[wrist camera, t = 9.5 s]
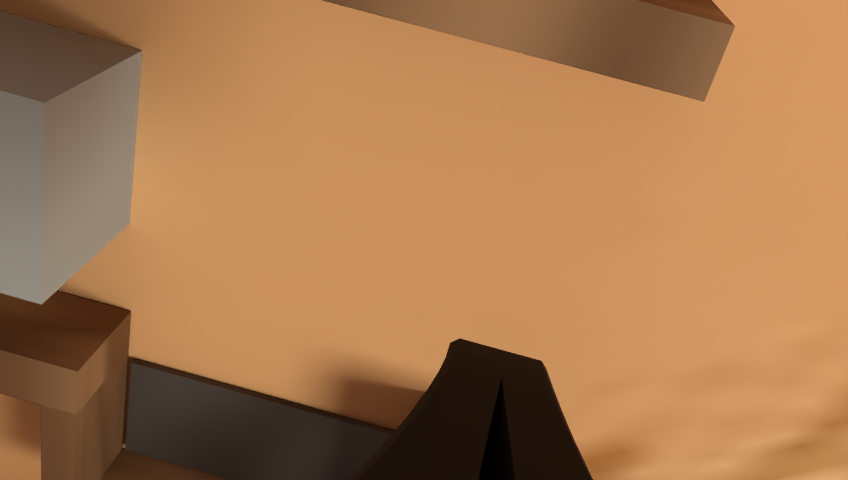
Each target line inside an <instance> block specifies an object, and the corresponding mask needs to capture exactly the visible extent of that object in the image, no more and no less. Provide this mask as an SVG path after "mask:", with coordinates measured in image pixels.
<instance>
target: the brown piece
mask: <svg viewBox="0 0 848 480" xmlns="http://www.w3.org/2000/svg"><path fill="white" fill-rule="evenodd" d="M323 1H327V2H331V3H334V4H338V5H342V6H346V7H349V8H353V9H357V10H361V11H364V12H368V13H372V14H376V15H379V16H383V17H387V18H391V19H395V20H398V21H402V22H406V23H410V24H413V25H417V26H421V27H425V28H428V29H432V30H436V31H440V32H444V33H447V34H451V35H455V36H459V37H462V38H466V39H470V40H474V41H477V42H481V43H485V44H489V45H492V46H496V47H500V48H504V49H508V50H511V51H515V52H519V53H523V54H526V55H530V56H534V57H538V58H541V59H545V60H549V61H553V62H556V63H560V64H564V65H568V66H572V67H575V68H579V69H583V70H587V71H590V72H594V73H598V74H602V75H605V76H609V77H613V78H617V79H620V80H624V81H628V82H632V83H636V84H639V85H643V86H647V87H651V88H654V89H658V90H662V91H666V92H669V93H673V94H677V95H681V96H684V97H688V98H692V99H696V100H700V101H703V102H704V101H705V98H706V96H707V93H708V91H709V88H710V86H711V84H712V81H713V79H714V76H715V74H716V71H717V69H718V66H719V64H720V62H721V59H722V57H723V54H724V52H725V49H726V47H727V44H728V42H729V40H730V37H731V35H732V32H733V30H734V27H735V26H734V24H733V23H732V22H731V21H730V20H729V19H728V18H727V17H726V16H725V15H724V13H723V12H722V11H721V10H720V9H719V8H718V7H717V6H716V5H715V4H714V2H713V1H712V0H323ZM130 317H131V311H128V310H124V309H120V308H117V307H113V306H110V305H106V304H102V303H99V302H95V301H91V300H88V299H84V298H81V297H77V296H73V295H70V294H66V293H63V292H59V291H56V292H55V293H54V294H53V295H52V296H50V297H49V298H48V299H47V300H46V301H45V302H44V303H43V304H42V305H41V304H37V303H34V302H31V301H27V300H24V299H20V298H17V297H13V296H10V295H6V294H3V293H0V394H4V395H8V396H11V397H15V398H18V399H22V400H25V401H29V402H32V403H36V404H40V405H41V480H349V479H350V478H351V477H352V476H353V475H354V474H355V473H356V472H357V471H358V470H359V469H360V468H361V467H362V466H363V465H364V464H365V463H366V462H367V461H368V460H369V459H370V458H371V457H372V456H373V455H374V454H375V453H376V452H377V451H378V450H379V449H380V448H381V447H382V445H383V444H384V443H385V442H386V441H387V440H388V439H389V437H390V436H391V435H392V434H393V433H394V432H395V431H392V430H389V429H385V428H382V427H378V426H374V425H371V424H367V423H364V422H360V421H356V420H353V419H349V418H346V417H342V416H338V415H335V414H331V413H328V412H324V411H320V410H317V409H313V408H310V407H306V406H302V405H299V404H295V403H292V402H288V401H284V400H281V399H277V398H274V397H270V396H267V395H263V394H259V393H256V392H252V391H249V390H245V389H241V388H238V387H234V386H231V385H227V384H223V383H220V382H216V381H213V380H209V379H205V378H202V377H198V376H195V375H191V374H187V373H184V372H180V371H177V370H173V369H169V368H166V367H162V366H159V365H155V364H152V363H148V362H144V361H141V360H137V359H134V360H133V361H132V362H131V374H130V389H129V404H128V419H127V434H126V449H122V443H123V428H124V412H125V396H126V380H127V365H128V349H129V333H130Z"/></svg>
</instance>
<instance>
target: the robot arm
mask: <svg viewBox="0 0 848 480" xmlns="http://www.w3.org/2000/svg"><path fill="white" fill-rule="evenodd" d="M349 480H593V479H592V477H591V475H590V473H589V471H588V468H587V466H586V464H585V462H584V460H583V458H582V456H581V454H580V451H579V449H578V447H577V445H576V443H575V441H574V438H573V436H572V434H571V432H570V429H569V427H568V425H567V422H566V420H565V417H564V415H563V412H562V410H561V408H560V405H559V402H558V400H557V397H556V395H555V392H554V389H553V387H552V384H551V381H550V378H549V375H548V373H547V370H546V368H545V366H544V364H543V363H542V361H540V360H536V359H532V358H529V357H525V356H521V355H518V354H514V353H511V352H507V351H503V350H500V349H496V348H492V347H489V346H485V345H481V344H478V343H474V342H471V341H467V340H463V339H458V340H455V341H453V342H451V343H450V345H449V349H448V352H447V355H446V358H445V360H444V362H443V364H442V366H441V368H440V370H439V372H438V374H437V375H436V377H435V378H434V380H433V382H432V383H431V385H430V386H429V388H428V389H427V391H426V392H425V394H424V395H423V396H422V398H421V399H420V400H419V402H418V403H417V404H416V406H415V407H414V409H413V410H412V411H411V413H410V414H409V415H408V417H407V418H406V419H405V420H404V421H403V423H402V424H401V425H400V426H399V427H398V428H397V430H396V431H395V432H394V433H393V434H392V435H391V436H390V437H389V439H388V440H387V441H386V442H385V443H384V444H383V445H382V447H381V448H380V449H379V450H378V451H377V452H376V453H375V454H374V455H373V456H372V457H371V458H370V459H369V460H368V461H367V462H366V463H365V464H364V465H363V466H362V467H361V468H360V469H359V470H358V471H357V472H356V473H355V474H354V475H353V476H352V477H351V478H350V479H349Z"/></svg>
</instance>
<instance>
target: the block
mask: <svg viewBox="0 0 848 480" xmlns="http://www.w3.org/2000/svg"><path fill="white" fill-rule="evenodd" d="M141 58H142V51H141V50H138V49H134V48H131V47H127V46H123V45H120V44H116V43H113V42H109V41H106V40H102V39H99V38H95V37H91V36H88V35H84V34H81V33H77V32H74V31H70V30H67V29H63V28H59V27H56V26H52V25H49V24H45V23H42V22H38V21H34V20H31V19H27V18H24V17H20V16H17V15H13V14H10V13H6V12H2V11H0V293H3V294H6V295H10V296H13V297H17V298H20V299H24V300H27V301H31V302H34V303H37V304H41V305H42V304H43V303H44V302H45V301H46V300H47V299H48V298H49V297H50V296H52V295H53V294H54V293H55V292H56V291H57V290H58V289H59V288H60V287H61V286H62V285H63V284H65V283H66V282H67V281H68V280H69V279H70V278H71V277H72V276H73V275H74V274H75V273H77V272H78V271H79V270H80V269H81V268H82V267H83V266H84V265H85V264H86V263H87V262H88V261H90V260H91V259H92V258H93V257H94V256H95V255H96V254H97V253H98V252H99V251H100V250H101V249H103V248H104V247H105V246H106V245H107V244H108V243H109V242H110V241H111V240H112V239H113V238H114V237H116V236H117V235H118V234H119V233H120V232H121V231H122V230H123V229H124V228H125V227H126V226H127V225H129V224H130V210H131V196H132V182H133V169H134V155H135V141H136V127H137V113H138V100H139V86H140V72H141Z"/></svg>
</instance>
